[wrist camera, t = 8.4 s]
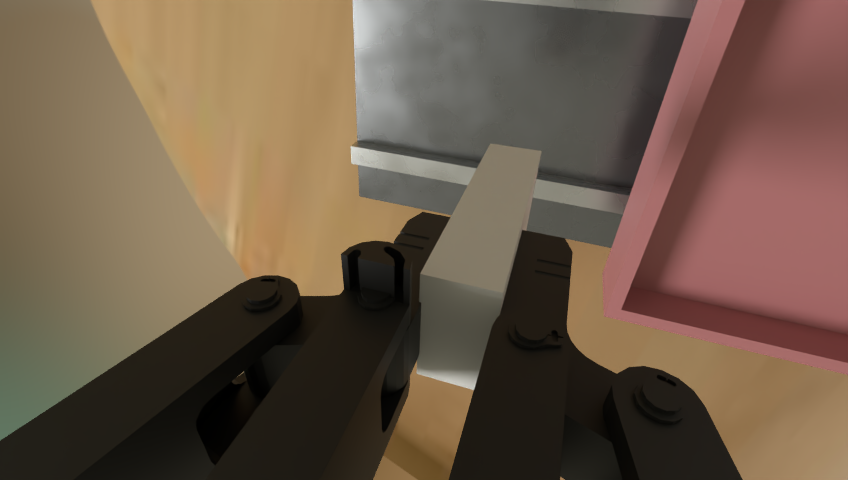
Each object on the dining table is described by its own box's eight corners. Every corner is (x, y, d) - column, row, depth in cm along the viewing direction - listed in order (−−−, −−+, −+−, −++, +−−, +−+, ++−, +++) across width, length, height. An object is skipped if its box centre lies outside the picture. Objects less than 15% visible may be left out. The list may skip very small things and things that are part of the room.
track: (359, -106, 23) (339, -111, 21) (1237, -76, 15) (1320, -80, 13) (366, 188, 32) (353, 202, 30) (910, 298, 25) (934, 324, 23)
